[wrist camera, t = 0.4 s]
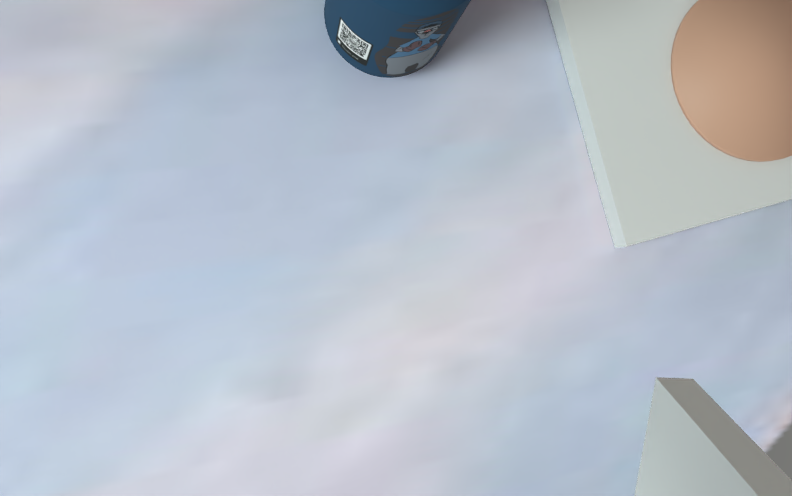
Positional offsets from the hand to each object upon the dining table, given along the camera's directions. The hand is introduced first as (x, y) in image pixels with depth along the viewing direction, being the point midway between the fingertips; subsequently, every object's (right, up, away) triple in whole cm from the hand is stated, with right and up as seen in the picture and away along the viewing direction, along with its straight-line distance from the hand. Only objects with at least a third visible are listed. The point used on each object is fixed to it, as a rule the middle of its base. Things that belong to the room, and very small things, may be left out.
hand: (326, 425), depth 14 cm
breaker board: (+21, +19, +30) cm, 41 cm away
